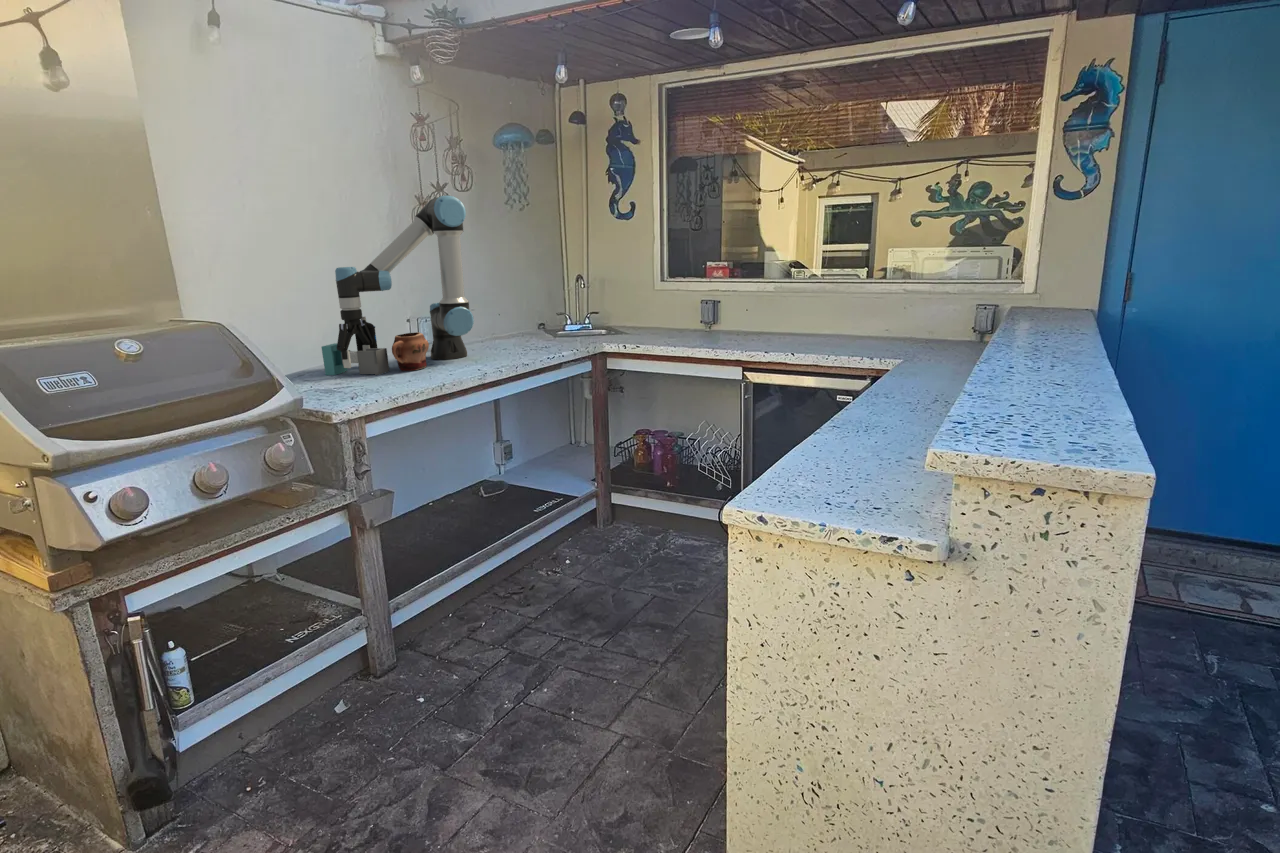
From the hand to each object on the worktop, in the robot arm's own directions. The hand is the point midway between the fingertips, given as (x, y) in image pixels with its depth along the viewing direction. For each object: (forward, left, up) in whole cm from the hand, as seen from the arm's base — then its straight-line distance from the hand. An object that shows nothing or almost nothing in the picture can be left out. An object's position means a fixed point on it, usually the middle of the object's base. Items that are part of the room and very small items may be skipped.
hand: (358, 364), depth 279 cm
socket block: (+10, 0, -3) cm, 10 cm away
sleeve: (-7, 0, -3) cm, 7 cm away
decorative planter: (-18, -7, -4) cm, 20 cm away
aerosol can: (+5, -15, -3) cm, 16 cm away
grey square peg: (-2, 0, +1) cm, 2 cm away
